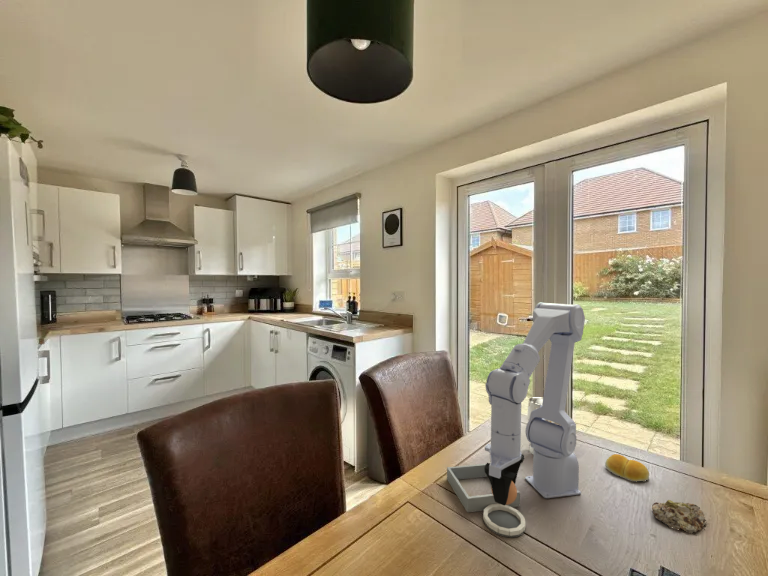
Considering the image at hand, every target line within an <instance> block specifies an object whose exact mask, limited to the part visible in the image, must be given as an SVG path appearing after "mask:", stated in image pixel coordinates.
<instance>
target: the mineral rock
mask: <svg viewBox="0 0 768 576" xmlns="http://www.w3.org/2000/svg"><path fill="white" fill-rule="evenodd" d="M651 505H652V506H651V510H652V514H653V516H654V517H655V519H657V520H659V521H660V522H663V523H664V524H665V525H666V524H667V525H668V526H669V528H670V527H673V528H676V529H679V530H678V531H681V530H684V531H683V532H685V531H687V532H686V533H688V532H690V533H689V534H692V533H697V532H699V531H701V530H702V529H704V527H705V526H706V525H707V522H706V521H707V520H706V519H705V518H706V517H705V513H704V511H703V510H702V509H701V508H700V507H699V506H698V505H697V504H695V503H689V502H686V503H685V502H681V501H677V502H675V501H673V500H671V499H668V500H666V501H665V502H658V501H657V502H654V503H653V504H651ZM667 525H666V526H667ZM704 525H705V526H704ZM668 526H667V527H668ZM673 528H672V529H673ZM676 529H675V530H676ZM698 530H699V531H698Z"/></svg>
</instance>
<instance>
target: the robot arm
mask: <svg viewBox="0 0 768 576" xmlns="http://www.w3.org/2000/svg"><path fill="white" fill-rule="evenodd" d="M585 317H586V316H585V312H584V310H583V308H582V306H581V305H580V304H579V303H578V304H577V303H574V304H567V303H553V302H552V303H550V302H543V301H541V302H538V303H536V305H535V306H534V309H533V312H532V321H533V324H532V325H531V327H530V328H529V330H528V333H527V335H526V337H525V338H524V341H523V343H517V344H516V345H514V346H513V348H512V349H511V351H510V352H509V354H508V355H507V357H506V358H505V359H504V361H503V362H502V364H501V365H500V367H499V368H495V369H493V370H491V371H490V372H489V374H488V375H487V378H486V382H485V387H484V388H485V391H486V393H487V395H488V403H489V405H490V406H491V407H490V408H491V410H490V411H491V412H490V415H491V416H490V443H487V444H486V445H485V446H484V451H485V452H488V453H489V459H490V462H486V463H485V464H486V465H485V468H484V470H485V473H486V475H487V476H488V477H487V478H488V480H489V481H488V482H489V484H490V488H491V487H492V491H491V493H492V492H493V496H494V500H495V502H497V503H499V504H502V505H506V503H507V499H508V494H509V488H510V485H511V482H512V481H513V482H514V484H515V485H516V482H517V478H518V473H519V470H520V467H521V465H522V463H523V461H524V460H525V455H524V454H523V453H522V451H521V445H522V444H521V442H522V441H521V440H522V439H521V438H522V437H521V436H522V403H523V402H524V400H525V399H526V397H527V395H528V393H529V387H530V384H531V383H530V382H531V380H530V377H531V376H532V374H533V372H534V371H535V369H536V368H537V367H538V365H539V362H540V361H541V357H540V354H539V353H540V351H541V350H542V348H543V347H544V346H545V345H546V343H547V342H548V341H549V340H550V342H551V345H550V350H549V351H550V352H549V358H548V363H547V364H548V365H547V370H546V377H545V382H544V383H545V384H544V390H543V397H542V398H543V403H542V406H541V407H540V408H537V409H535V410H533V411H532V412H531V414H530V418H529V421H528V420H527V423H526V426H525V437H526V439H527V441H528V443H530V442H531V447H532V448H534V451H533V458H532V461H533V462H532V464H533V465H532V475H527V476H525V477H524V478H525V480H526V482H528V483H529V484H530V485H531V486H532V487H533V488H534V489H535V491H537V492H538V493H539V494H540V495H541V496H542V497H543V498H544V499H550V498H551V499H552V498H553V499H554V498H559V497H568V496H575V495H576V496H577V495H581V494H582V492H581V490H579V480H580V479H579V478H580V477H579V474H580V464H579V460H578V457H577V455H576V453H575V449H576V446H577V424H576V422H575V421H574V419H572V417H570V415H568V413H567V412H566V405H567V404H566V403H567V397H568V390H569V383H570V376H571V370H572V362H573V355H574V349H575V343H578V342H580V341H582V339H583V335H584V328H585V323H586V322H585V321H586V318H585ZM542 418H543V419H546V420H549V421H552V422H554V423H552V422H549V421H546V420H543V419H542Z"/></svg>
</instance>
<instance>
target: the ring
mask: <svg viewBox="0 0 768 576" xmlns="http://www.w3.org/2000/svg"><path fill="white" fill-rule="evenodd" d="M482 517H483V518H482V519H483V522H484V525H485V526H486V528H488V529H489V530H490V531H491V532H492V533H494V534H495V535H498V536H501V537H505V538H518V537H520V536H522V535H523V534H524V533H525V530H526V518H525V516H524V515H523V514H522V513H521V512H520V511H519V510H518V509H516V508H515V507H511V506H510V507H509V506H508V505H502V504H491V505H489V506H487V507H486V508H485V509H484V511H483V516H482Z"/></svg>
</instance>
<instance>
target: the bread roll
mask: <svg viewBox="0 0 768 576" xmlns="http://www.w3.org/2000/svg"><path fill="white" fill-rule="evenodd" d="M604 463H605V465H604V466H605V468H606V469H607V471H609V472H610V473H611V472H612V474H613V475H614V476H617V477H619V476H620V478H623V479H625V480H627V479H628V481H629V480H631V481H630V482H633V481H636V482H635V483H638V482H637V481H643V482H646V481H645V480H647V481H648V480H649V478H650V472H649V470H648V469H649V468H648V467H647V466H646V465H645V464H643V463H642V462H640V461H637V460H634V459H628V458H627V457H626V456H624V455H622V454H619V453H618V454H617V453H616V454H615V453H614V454H612V455H610V456H608V458H607V459H606V461H605V462H604Z"/></svg>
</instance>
